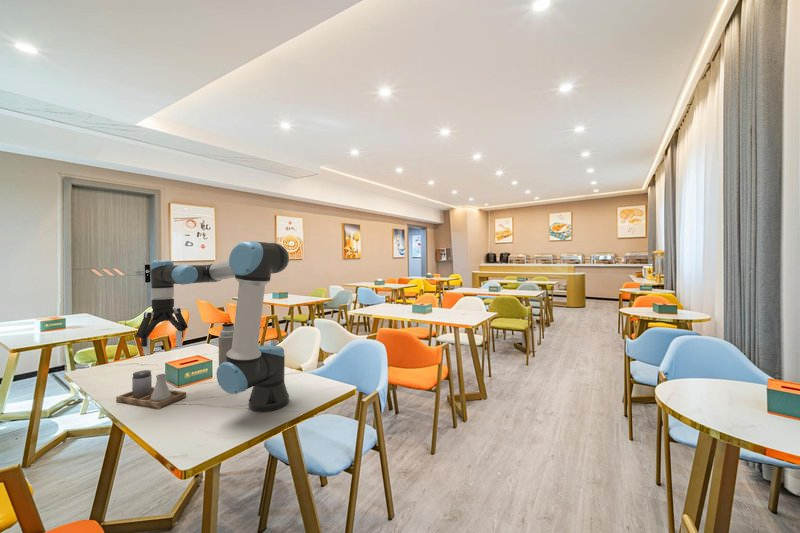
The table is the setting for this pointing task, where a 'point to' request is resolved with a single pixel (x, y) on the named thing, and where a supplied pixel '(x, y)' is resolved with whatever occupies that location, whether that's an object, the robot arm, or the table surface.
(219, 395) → the table surface
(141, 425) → the table surface
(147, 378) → the pepper shaker
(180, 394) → the caddy
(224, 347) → the thermos bottle
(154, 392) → the flask
